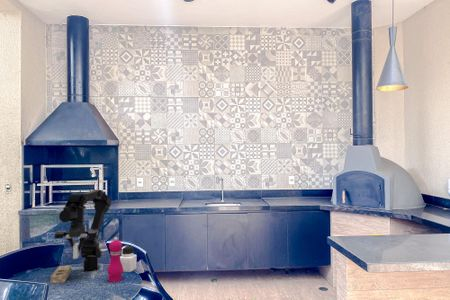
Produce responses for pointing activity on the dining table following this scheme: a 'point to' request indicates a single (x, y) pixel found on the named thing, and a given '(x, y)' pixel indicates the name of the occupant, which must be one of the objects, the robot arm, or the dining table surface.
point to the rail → (60, 274)
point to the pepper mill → (115, 261)
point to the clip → (76, 251)
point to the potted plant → (128, 259)
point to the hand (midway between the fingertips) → (76, 251)
